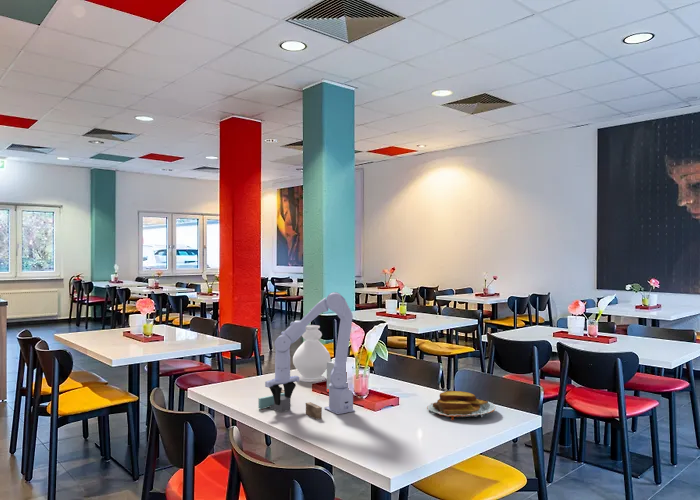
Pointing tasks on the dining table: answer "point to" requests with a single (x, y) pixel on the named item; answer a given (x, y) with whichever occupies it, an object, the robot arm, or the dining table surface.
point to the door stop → (282, 404)
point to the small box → (329, 368)
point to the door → (267, 401)
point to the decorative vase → (311, 356)
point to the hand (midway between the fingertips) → (282, 403)
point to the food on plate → (460, 405)
